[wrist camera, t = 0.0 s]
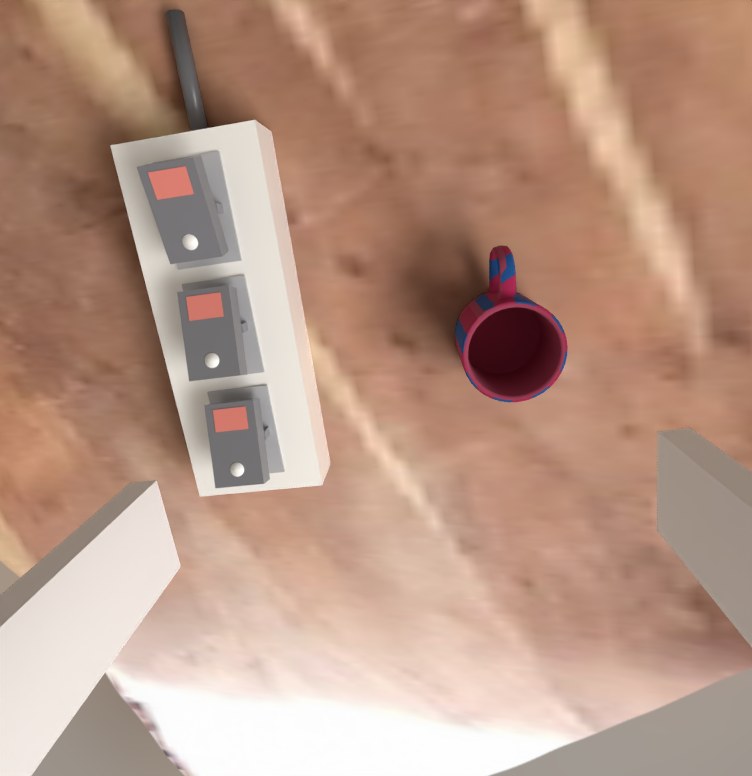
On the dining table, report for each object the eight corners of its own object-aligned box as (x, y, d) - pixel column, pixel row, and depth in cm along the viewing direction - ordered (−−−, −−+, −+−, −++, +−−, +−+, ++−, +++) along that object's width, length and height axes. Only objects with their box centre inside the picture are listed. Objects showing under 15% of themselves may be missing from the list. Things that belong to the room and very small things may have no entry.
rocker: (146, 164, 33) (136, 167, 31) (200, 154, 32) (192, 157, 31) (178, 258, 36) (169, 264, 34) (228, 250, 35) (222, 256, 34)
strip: (109, 31, 36) (58, -2, 31) (248, 2, 35) (220, -36, 30) (216, 474, 45) (191, 504, 40) (330, 463, 44) (319, 493, 39)
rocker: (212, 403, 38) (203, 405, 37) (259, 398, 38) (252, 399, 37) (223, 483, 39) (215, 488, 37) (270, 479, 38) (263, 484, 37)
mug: (454, 376, 41) (460, 402, 35) (456, 245, 39) (464, 247, 32) (540, 375, 41) (563, 402, 34) (549, 243, 38) (576, 245, 32)
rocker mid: (186, 294, 36) (176, 292, 35) (236, 287, 36) (228, 285, 34) (198, 380, 36) (188, 381, 35) (247, 374, 36) (240, 375, 35)
